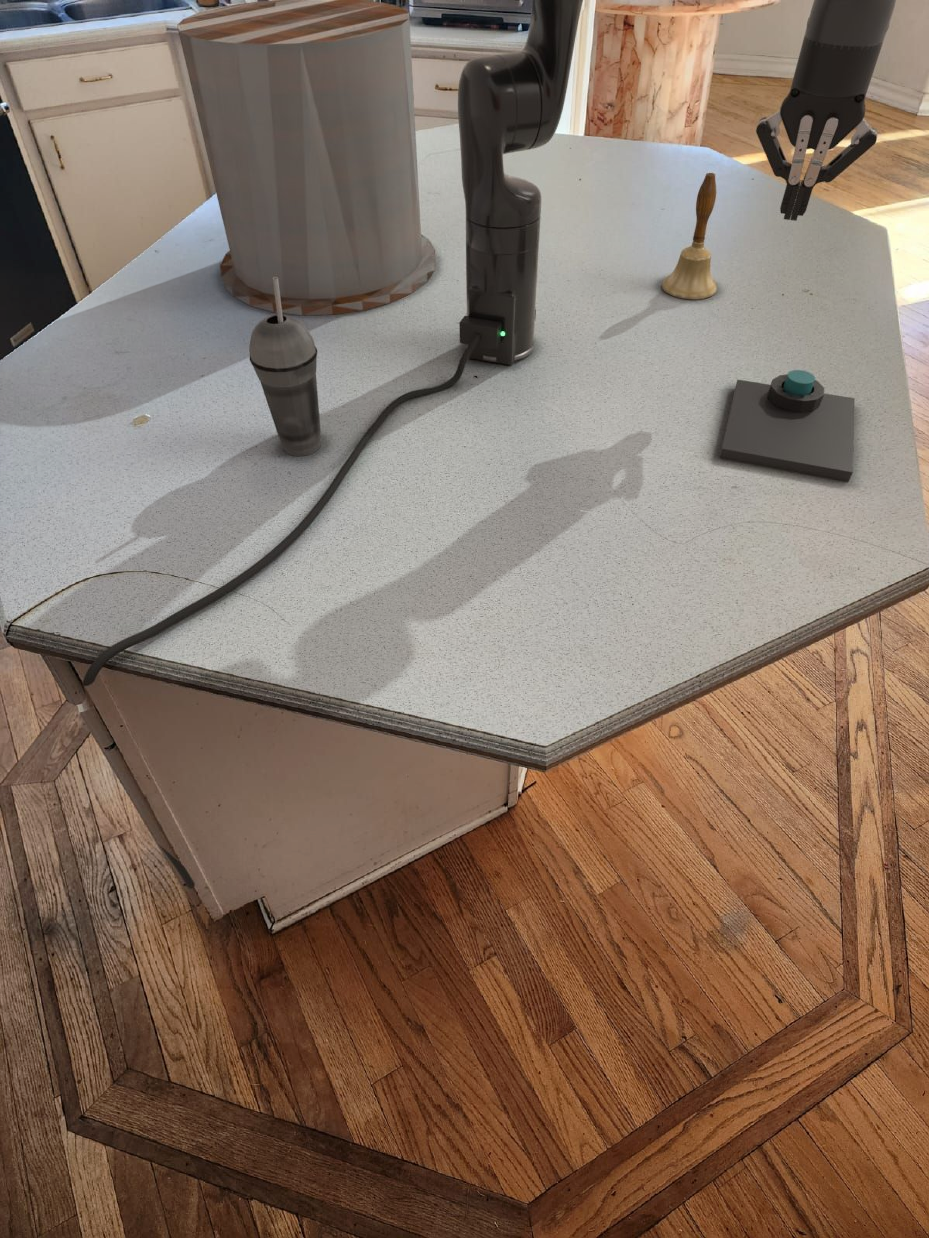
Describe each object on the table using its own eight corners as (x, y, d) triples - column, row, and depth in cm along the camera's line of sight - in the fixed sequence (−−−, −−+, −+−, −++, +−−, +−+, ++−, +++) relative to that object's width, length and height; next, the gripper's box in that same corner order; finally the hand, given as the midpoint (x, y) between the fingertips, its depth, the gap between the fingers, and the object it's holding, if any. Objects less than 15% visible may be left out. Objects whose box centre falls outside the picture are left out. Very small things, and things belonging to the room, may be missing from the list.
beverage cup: (304, 421, 93) (271, 254, 79) (345, 442, 90) (319, 272, 76) (258, 448, 90) (214, 278, 75) (300, 470, 86) (263, 297, 72)
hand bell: (705, 304, 113) (731, 187, 102) (653, 292, 116) (672, 177, 105) (724, 284, 118) (751, 170, 106) (674, 272, 121) (694, 160, 109)
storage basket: (478, 255, 127) (478, 10, 103) (334, 337, 108) (293, 61, 84) (327, 211, 141) (296, -12, 117) (176, 277, 122) (104, 27, 99)
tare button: (810, 398, 90) (814, 385, 89) (782, 394, 91) (786, 381, 90) (811, 385, 92) (816, 372, 91) (784, 381, 93) (788, 368, 92)
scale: (848, 482, 84) (858, 460, 81) (718, 458, 87) (725, 436, 85) (850, 406, 94) (859, 384, 92) (735, 387, 97) (741, 365, 95)
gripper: (772, 37, 75) (728, 222, 88) (917, 47, 72) (849, 238, 84) (779, 21, 79) (736, 199, 92) (915, 30, 76) (851, 213, 89)
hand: (790, 217), depth 88 cm, fingers closed
